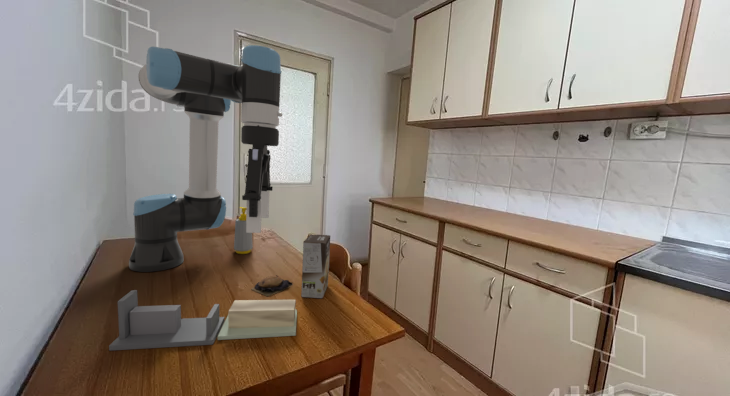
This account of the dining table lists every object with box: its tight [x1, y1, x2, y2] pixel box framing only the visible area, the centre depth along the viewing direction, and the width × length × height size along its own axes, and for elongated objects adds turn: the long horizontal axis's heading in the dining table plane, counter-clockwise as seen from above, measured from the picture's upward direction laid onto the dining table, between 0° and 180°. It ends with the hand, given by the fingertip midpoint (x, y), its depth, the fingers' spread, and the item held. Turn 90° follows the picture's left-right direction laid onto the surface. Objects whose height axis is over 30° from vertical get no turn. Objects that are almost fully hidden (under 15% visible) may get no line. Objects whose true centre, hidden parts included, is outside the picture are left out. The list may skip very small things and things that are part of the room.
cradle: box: [108, 289, 225, 351], centre depth 63 cm, size 9×18×9 cm, turn 101°
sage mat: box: [217, 308, 298, 341], centre depth 69 cm, size 10×16×1 cm, turn 101°
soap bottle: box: [233, 206, 254, 255], centre depth 118 cm, size 7×7×18 cm
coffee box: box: [300, 233, 331, 299], centre depth 88 cm, size 9×6×16 cm
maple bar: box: [227, 299, 297, 328], centre depth 69 cm, size 5×14×4 cm, turn 99°
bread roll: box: [251, 275, 294, 297], centre depth 90 cm, size 11×8×4 cm
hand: (258, 224), depth 66 cm, fingers open, 13 cm apart
